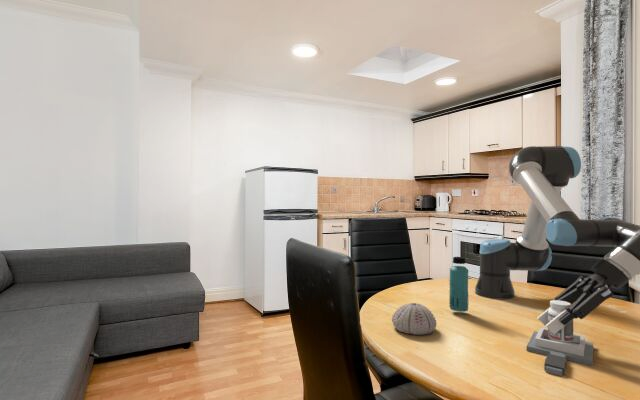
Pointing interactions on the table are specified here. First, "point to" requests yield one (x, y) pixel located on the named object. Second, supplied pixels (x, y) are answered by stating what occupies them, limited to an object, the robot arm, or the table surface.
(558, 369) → the holder
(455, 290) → the beverage bottle
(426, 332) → the sea urchin shell
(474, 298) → the table surface
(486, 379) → the table surface
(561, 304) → the pill bottle
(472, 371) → the table surface
